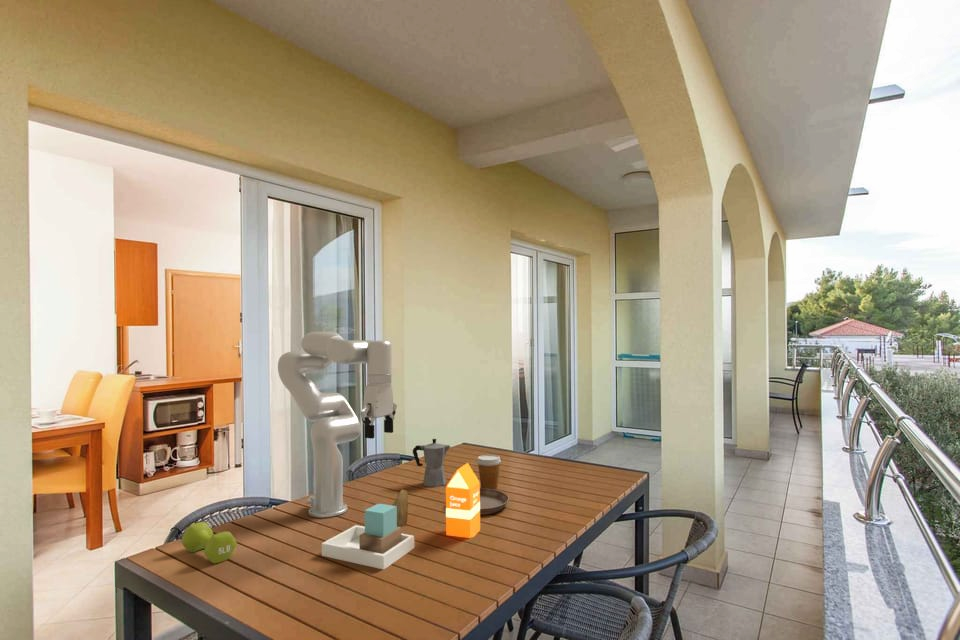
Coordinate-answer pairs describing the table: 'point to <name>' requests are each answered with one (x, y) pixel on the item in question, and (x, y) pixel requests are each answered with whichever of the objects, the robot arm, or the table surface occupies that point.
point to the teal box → (380, 519)
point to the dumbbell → (209, 542)
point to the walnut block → (380, 541)
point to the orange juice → (463, 503)
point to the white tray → (349, 550)
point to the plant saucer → (492, 501)
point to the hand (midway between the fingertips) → (379, 435)
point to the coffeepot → (433, 463)
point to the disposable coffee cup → (489, 471)
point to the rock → (402, 508)
